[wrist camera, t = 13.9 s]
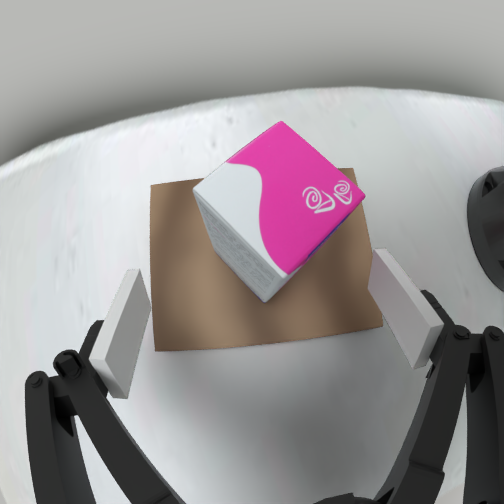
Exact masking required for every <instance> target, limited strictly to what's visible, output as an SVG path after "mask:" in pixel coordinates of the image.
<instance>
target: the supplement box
mask: <svg viewBox="0 0 504 504" xmlns="http://www.w3.org/2000/svg"><path fill="white" fill-rule="evenodd" d="M193 193H194V196H195V199H196V201H197V204H198V207H199V210H200V213H201V215H202V218H203V221H204V224H205V226H206V229H207V232H208V235H209V237H210V240H211V243H212V246H213V248H214V251H215V252H216V253H217V255H218V256H219V257H220V258H221V259H222V260H223V261H224V262H225V263H226V264H227V265H228V266H229V267H230V268H231V270H232V271H233V272H234V273H235V274H236V275H237V276H238V277H239V278H240V279H241V280H242V281H243V282H244V283H245V284H246V285H247V286H248V287H249V288H250V290H251V291H252V292H253V293H254V294H255V295H256V296H257V297H258V298H259V299H260V300H261V301H262V302H263V303H266V302H267V301H268V300H269V299H270V298H271V297H272V296H273V295H274V294H275V293H276V292H278V291H279V290H280V289H281V288H282V287H283V286H284V285H285V284H286V283H287V282H288V281H289V280H290V279H291V278H292V277H293V276H294V275H295V274H296V273H297V272H298V271H299V270H300V269H301V268H302V267H303V266H304V265H305V264H306V263H307V261H308V260H309V259H310V258H311V257H312V256H313V255H314V254H315V253H316V252H317V251H318V250H319V249H320V248H321V247H322V246H323V245H324V244H325V242H326V241H327V240H328V239H329V238H330V237H331V236H332V235H333V234H334V232H335V231H336V230H337V229H338V228H339V227H340V226H341V225H342V223H343V222H344V221H345V220H346V219H347V218H348V217H349V215H350V214H351V213H352V212H353V211H354V210H355V209H356V207H357V206H358V205H359V204H360V203H361V202H362V200H363V199H364V198H365V194H364V193H363V192H362V191H361V190H360V189H359V188H358V187H357V186H356V185H355V184H354V183H353V182H352V181H351V180H350V179H349V178H347V177H346V176H345V175H344V174H343V173H342V172H341V171H339V170H338V169H337V168H336V167H335V166H334V165H333V164H331V163H330V162H329V161H328V160H327V159H326V158H325V157H323V156H322V155H321V154H320V153H319V152H318V151H317V150H316V149H314V148H313V147H312V146H311V145H310V144H309V143H308V142H306V141H305V140H304V139H303V138H302V137H301V136H299V135H298V134H297V133H296V132H295V131H294V130H292V129H291V128H290V127H289V126H288V125H286V124H285V123H284V122H283V121H280V122H278V123H276V124H275V125H273V126H272V127H270V128H269V129H268V130H266V131H265V132H263V133H262V134H261V135H259V136H258V137H257V138H255V139H254V140H253V141H251V142H250V143H248V144H247V145H246V146H244V147H243V148H242V149H241V150H239V151H238V152H237V153H236V154H234V155H233V156H232V157H230V158H229V159H228V160H227V161H225V162H224V163H223V164H222V165H220V166H219V167H218V168H217V169H216V170H214V171H213V172H212V173H211V174H210V175H208V176H207V177H206V178H204V179H203V180H202V181H201V182H200V183H199V184H197V185H196V186H195V187H194V188H193Z"/></svg>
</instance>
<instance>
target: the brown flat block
mask: <svg viewBox="0 0 504 504" xmlns="http://www.w3.org/2000/svg"><path fill="white" fill-rule="evenodd" d="M337 169H338V170H339V171H341V172H342V173H343V174H344V175H345V176H346V177H347V178H349V179H350V180H351V181H352V182H353V183H354V184H355V185H356V186H357V187H358V185H357V181H356V177H355V174H354V170H353V168H337ZM203 179H204V178H202V179H193V180H185V181H177V182H170V183H162V184H155V185H151V197H150V274H151V299H152V317H153V331H154V344H155V351H182V350H201V349H216V348H229V347H241V346H252V345H262V344H271V343H280V342H288V341H296V340H304V339H311V338H318V337H325V336H331V335H338V334H344V333H350V332H356V331H361V330H367V329H372V328H378V327H383V320H382V312H381V311H380V309H379V307H378V305H377V304H376V302H375V300H374V299H373V297H372V295H371V293H370V292H369V290H368V283H369V277H370V271H371V265H372V259H373V255H372V249H371V244H370V239H369V234H368V229H367V224H366V220H365V215H364V211H363V206H362V202H361V203H360V204H359V205H358V206H357V207H356V209H355V210H354V211H353V212H352V213H351V214H350V215H349V217H348V218H347V219H346V220H345V221H344V222H343V223H342V225H341V226H340V227H339V228H338V229H337V230H336V231H335V232H334V234H333V235H332V236H331V237H330V238H329V239H328V240H327V241H326V242H325V244H324V245H323V246H322V247H321V248H320V249H319V250H318V251H317V252H316V253H315V254H314V255H313V256H312V257H311V258H310V259H309V260H308V261H307V263H306V264H305V265H304V266H303V267H302V268H301V269H300V270H299V271H298V272H297V273H296V274H295V275H294V276H293V277H292V278H291V279H290V280H289V281H288V282H287V283H286V284H285V285H284V286H283V287H282V288H281V289H280V290H279V291H278V292H276V293H275V294H274V295H273V296H272V297H271V298H270V299H269V300H268V301H267V302H266V303H263V302H262V301H261V300H260V299H259V298H258V297H257V296H256V295H255V294H254V293H253V292H252V291H251V290H250V288H249V287H248V286H247V285H246V284H245V283H244V282H243V281H242V280H241V279H240V278H239V277H238V276H237V275H236V274H235V273H234V272H233V271H232V270H231V268H230V267H229V266H228V265H227V264H226V263H225V262H224V261H223V260H222V259H221V258H220V257H219V256H218V255H217V253H216V252H215V251H214V248H213V246H212V243H211V240H210V237H209V235H208V232H207V229H206V226H205V224H204V221H203V218H202V215H201V213H200V210H199V207H198V204H197V201H196V199H195V196H194V193H193V188H194V187H195V186H196V185H197V184H199V183H200V182H201V181H202V180H203Z"/></svg>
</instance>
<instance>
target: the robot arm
mask: <svg viewBox="0 0 504 504" xmlns="http://www.w3.org/2000/svg"><path fill="white" fill-rule="evenodd" d="M468 223H469V229H470V234H471V238H472V242H473V245H474V248H475V251H476V254H477V256H478V258H479V261H480V263H481V265H482V267H483V268H484V270H485V272H486V273H487V275H488V276H489V278H490V279H491V280H492V281H493V283H494V284H495V285H496V286H497V287H498V288H500V289H501V290H502V291H504V166H502V167H498V168H494V169H492V170H490V171H488V172H487V173H485V174H484V175H483V176H482V177H480V178H479V179H478V180H477V181H476V182H475V183H474V185H473V187H472V189H471V192H470V195H469V200H468ZM368 290H369V292H370V293H371V295H372V297H373V299H374V300H375V302H376V304H377V305H378V307H379V309H380V311H381V312H382V314H383V316H384V318H385V319H386V321H387V323H388V325H389V326H390V328H391V330H392V332H393V334H394V336H395V337H396V339H397V341H398V343H399V345H400V347H401V348H402V350H403V352H404V354H405V356H406V358H407V360H408V362H409V364H410V365H411V367H412V369H416V368H420V367H423V366H426V364H427V362H428V360H429V358H430V359H431V361H432V362H433V364H432V366H431V368H430V370H429V372H428V374H427V376H426V378H427V381H426V384H425V387H424V391H423V394H422V397H421V399H420V402H419V405H418V408H417V411H416V413H415V416H414V419H413V421H412V424H411V426H410V429H409V431H408V434H407V436H406V439H405V441H404V443H403V446H402V448H401V450H400V452H399V455H398V457H397V459H396V461H395V463H394V465H393V467H392V470H391V472H390V474H389V476H388V478H387V480H386V481H385V483H384V485H383V486H382V488H381V489H380V490H379V492H378V493H377V495H376V497H375V498H374V500H372V499H368V498H362V497H354V495H353V493H348V494H344V495H340V496H335V497H330V498H326V499H323V500H321V501H318V502H316V503H314V504H434V503H435V500H436V498H437V496H438V493H439V491H440V488H441V485H442V483H443V480H444V475H445V473H444V472H443V471H442V470H443V465H444V462H445V460H446V457H447V453H448V450H449V447H450V444H451V441H452V437H453V434H454V430H455V426H456V423H457V419H458V415H459V411H460V406H461V402H462V397H463V392H464V387H465V383H466V399H467V460H466V475H465V487H464V496H463V504H504V333H503V332H502V330H501V329H499V328H497V327H495V326H488V327H486V328H485V330H484V332H483V334H471V333H470V331H469V330H468V329H467V328H466V327H463V326H461V325H455V324H454V322H453V321H452V319H451V318H450V317H449V315H448V314H447V313H446V311H445V310H444V309H443V308H442V306H441V305H440V304H439V303H438V301H437V300H436V298H435V297H434V296H433V295H432V294H431V293H429V292H428V291H426V290H421V291H420V290H419V289H418V288H417V286H416V285H415V284H414V283H413V281H412V280H411V279H410V277H409V276H408V275H407V274H406V272H405V271H404V270H403V269H402V267H401V266H400V265H399V264H398V263H397V261H396V260H395V259H394V258H393V256H392V255H391V254H390V253H389V252H388V250H387V249H386V248H380V249H374V252H373V259H372V265H371V271H370V277H369V283H368ZM150 311H151V305H150V301H149V298H148V295H147V292H146V288H145V285H144V281H143V278H142V275H141V271H140V269H132V270H127V272H126V274H125V276H124V278H123V280H122V282H121V284H120V287H119V289H118V291H117V293H116V295H115V297H114V300H113V302H112V304H111V306H110V309H109V311H108V313H107V315H106V318H105V320H97V321H96V322H95V323H94V324H93V325H92V326H91V327H90V329H89V331H88V333H87V336H86V338H85V340H84V342H83V345H82V347H81V349H80V352H79V354H78V353H77V352H76V351H75V350H72V349H71V350H65V351H62V352H61V353H59V354H58V355H57V356H56V357H55V359H54V362H53V367H54V369H55V370H56V372H57V373H58V376H53V377H48V376H47V374H46V373H45V372H43V371H36V372H34V373H32V374H31V375H29V376H28V378H27V380H26V383H25V414H26V432H27V443H28V453H29V461H30V469H31V475H32V481H33V487H34V492H35V497H36V502H37V504H96V501H95V498H94V495H93V492H92V489H91V485H90V482H89V479H88V475H87V472H86V468H85V464H84V460H83V456H82V452H81V448H80V443H79V439H78V434H77V429H76V424H75V418H74V416H75V415H78V416H79V418H80V420H81V422H82V424H83V426H84V428H85V430H86V432H87V433H88V435H89V437H90V439H91V441H92V443H93V444H94V446H95V448H96V450H97V451H98V453H99V455H100V457H101V458H102V460H103V462H104V463H105V465H106V466H107V468H108V470H109V471H110V473H111V474H112V476H113V477H114V479H115V481H116V482H117V484H118V485H119V486H120V488H121V489H122V491H123V492H124V494H125V495H126V497H127V498H128V499H129V501H130V502H131V504H186V503H185V502H184V501H183V500H182V499H181V498H180V496H179V495H178V494H177V493H176V492H175V491H174V490H173V488H172V487H171V486H170V485H169V484H168V483H167V481H166V480H165V479H164V478H163V477H162V475H161V474H160V473H159V472H158V471H157V469H156V468H155V467H154V466H153V464H152V463H151V462H150V460H149V459H148V458H147V457H146V455H145V454H144V453H143V451H142V450H141V449H140V447H139V446H138V444H137V443H136V442H135V440H134V439H133V438H132V436H131V435H130V433H129V432H128V430H127V429H126V427H125V426H124V424H123V423H122V421H121V420H120V418H119V417H118V415H117V414H116V412H115V411H114V409H113V408H112V406H111V404H110V403H109V401H108V400H107V398H106V397H107V393H108V391H109V393H110V394H111V396H112V397H113V398H121V399H128V395H129V391H130V386H131V382H132V378H133V374H134V370H135V366H136V362H137V358H138V354H139V350H140V347H141V343H142V339H143V336H144V332H145V328H146V325H147V321H148V318H149V314H150Z"/></svg>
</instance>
